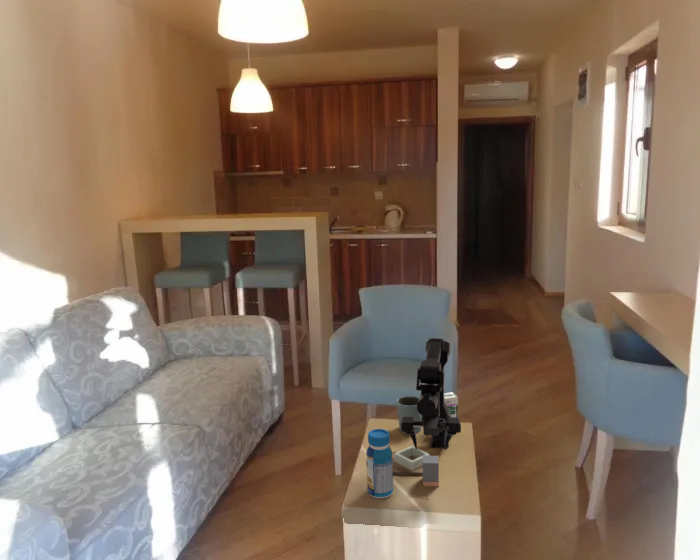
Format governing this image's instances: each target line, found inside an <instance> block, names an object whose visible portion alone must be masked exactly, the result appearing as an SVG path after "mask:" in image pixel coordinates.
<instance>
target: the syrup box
mask: <svg viewBox="0 0 700 560" xmlns="http://www.w3.org/2000/svg"><path fill="white" fill-rule="evenodd" d="M444 403H445V404H446V406H447V407H448V409H449V415H450V416H451V417H457V418H459V397H458V396H457V394H455V392H452V391H450V392H446V393H445V392H444Z"/></svg>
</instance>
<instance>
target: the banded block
mask: <svg viewBox="0 0 700 560" xmlns="http://www.w3.org/2000/svg"><path fill="white" fill-rule="evenodd" d="M439 464H440V463H439V456H438V455H432V456H426V455H423V475H422V486H423V487H439V486H440V484H439V483H440V480H439V479H440V474H439V472H440V465H439Z"/></svg>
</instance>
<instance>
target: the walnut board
mask: <svg viewBox="0 0 700 560" xmlns="http://www.w3.org/2000/svg"><path fill="white" fill-rule="evenodd" d="M397 452H398V451H392V459H393V476H394V474H395V476H396V475H397V474H398V475H399V476H402V475H403V476H423V466H421V467H419V468H417V469H415V470H413V471H411V470H409V469H408V468H406V467H404V466H402V465H400V464H398V463H396V462H395V457H394V453H397ZM427 453H428V454H430V456H433V453H432V452H427ZM408 459H410V460H414V459H417V458H416V457H414V456H410V457H408ZM398 475H397V476H398Z"/></svg>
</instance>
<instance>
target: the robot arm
mask: <svg viewBox="0 0 700 560" xmlns="http://www.w3.org/2000/svg"><path fill="white" fill-rule="evenodd" d="M424 349H425V355H426V359H425V360H423V361H421V363H420V365H419V368H417V372H416V373H417V375H416V388H415V390H416V391H420V396H419V401H418V404H417V410H418V412H419V413H420V414H421V421H413V417H402V418H401V431H402V432H405V433H406V434H405V433H404V434H405V435H409V436H410V438H411V441H412V443H413V446H414V447H415V449H416V450H417V448H418V441H417V435H416V434H417V433H415V427H421V428H422V430H423V433H422V434H423V435H424V436H425V437H426V436H427V437H429V436H431V438H430V441H429V442H430V448H443V449H444V451H446V450H447V449H448V448H450V446H449V445H450V444H449V443H450V441H451V439H452V437H453V436H455V435H456V436H457V433H459V434H460V433H461V432H462V424H461V419H460V418H459V417H458V418H457V417H451V416H450V415H449V409H448V407H447V406H446V404H445V403H444V393H445V366H446V364H447V363H448V360H449V356H451V343H450V342H448V341H446V340H444V339H443V338H441V337H440V338H438V337H437V338H436V337H431V338H428V340H427V341H425V348H424ZM401 431H400V432H401ZM402 432H401V433H402Z"/></svg>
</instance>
